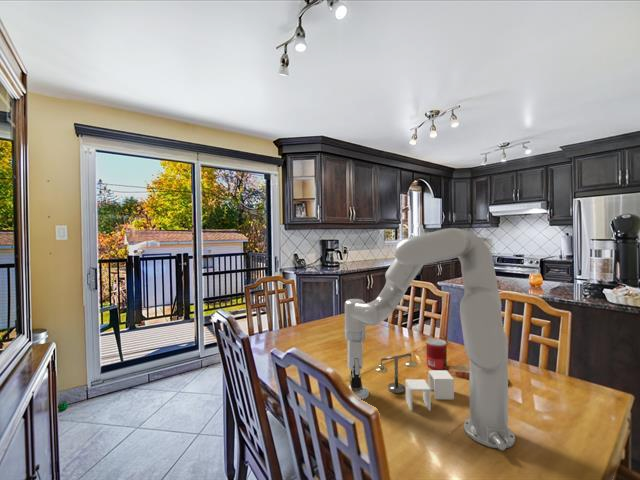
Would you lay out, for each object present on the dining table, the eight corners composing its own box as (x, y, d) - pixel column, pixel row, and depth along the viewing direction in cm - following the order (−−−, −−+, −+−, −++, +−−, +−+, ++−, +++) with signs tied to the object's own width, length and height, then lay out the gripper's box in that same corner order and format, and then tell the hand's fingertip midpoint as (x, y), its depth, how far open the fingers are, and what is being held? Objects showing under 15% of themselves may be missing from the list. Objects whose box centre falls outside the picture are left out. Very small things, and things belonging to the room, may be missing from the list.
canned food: (448, 371, 123) (448, 345, 123) (428, 370, 125) (427, 344, 125) (444, 363, 131) (444, 338, 131) (425, 362, 132) (425, 337, 132)
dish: (370, 400, 103) (370, 397, 103) (344, 400, 103) (344, 396, 103) (367, 387, 112) (367, 383, 112) (343, 386, 112) (343, 383, 112)
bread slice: (442, 371, 124) (442, 362, 124) (476, 365, 130) (476, 356, 130) (477, 393, 107) (477, 382, 107) (515, 384, 113) (515, 374, 113)
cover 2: (434, 399, 103) (434, 378, 103) (428, 389, 110) (428, 370, 109) (454, 399, 103) (453, 379, 103) (446, 389, 109) (446, 370, 109)
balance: (419, 393, 107) (419, 356, 106) (376, 393, 107) (376, 356, 107) (415, 385, 113) (414, 350, 112) (374, 385, 113) (374, 350, 113)
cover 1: (430, 411, 96) (430, 389, 96) (410, 410, 97) (410, 389, 96) (424, 399, 103) (424, 379, 103) (405, 399, 103) (405, 379, 103)
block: (352, 391, 106) (349, 380, 106) (351, 385, 110) (349, 375, 110) (363, 389, 106) (360, 378, 106) (362, 383, 110) (359, 373, 110)
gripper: (344, 326, 116) (344, 373, 116) (345, 342, 99) (346, 396, 99) (363, 326, 115) (363, 373, 116) (368, 342, 99) (368, 397, 99)
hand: (355, 383), depth 108 cm, fingers closed on block, 3 cm apart
